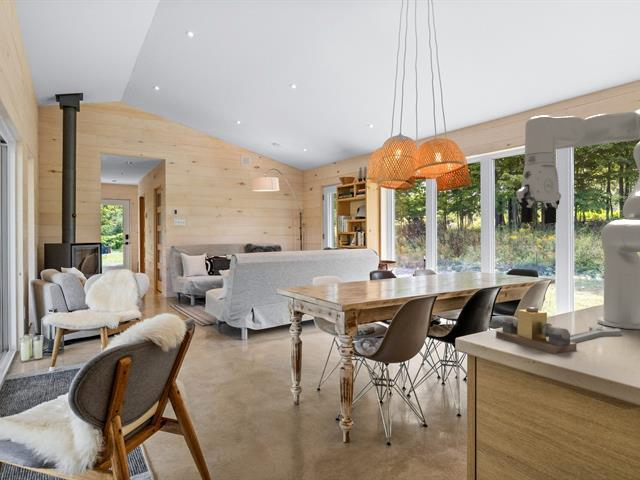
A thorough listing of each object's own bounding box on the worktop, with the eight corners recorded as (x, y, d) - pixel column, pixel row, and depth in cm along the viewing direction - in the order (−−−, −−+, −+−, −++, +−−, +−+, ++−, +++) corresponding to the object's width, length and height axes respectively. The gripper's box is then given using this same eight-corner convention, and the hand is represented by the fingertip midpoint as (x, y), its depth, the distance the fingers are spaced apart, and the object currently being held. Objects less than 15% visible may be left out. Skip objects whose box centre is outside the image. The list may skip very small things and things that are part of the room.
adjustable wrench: (566, 347, 99) (567, 339, 99) (542, 340, 105) (542, 333, 105) (625, 335, 110) (625, 329, 110) (600, 330, 116) (600, 324, 116)
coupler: (546, 338, 98) (546, 309, 98) (531, 340, 97) (532, 310, 97) (531, 334, 103) (532, 305, 103) (517, 335, 101) (517, 306, 101)
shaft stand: (517, 333, 109) (517, 313, 109) (576, 349, 95) (576, 325, 95) (496, 336, 106) (496, 315, 106) (553, 353, 91) (554, 329, 91)
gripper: (530, 157, 106) (529, 222, 106) (572, 162, 113) (571, 223, 114) (506, 161, 113) (505, 222, 113) (547, 166, 120) (546, 223, 120)
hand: (538, 222), depth 113 cm, fingers open, 9 cm apart
